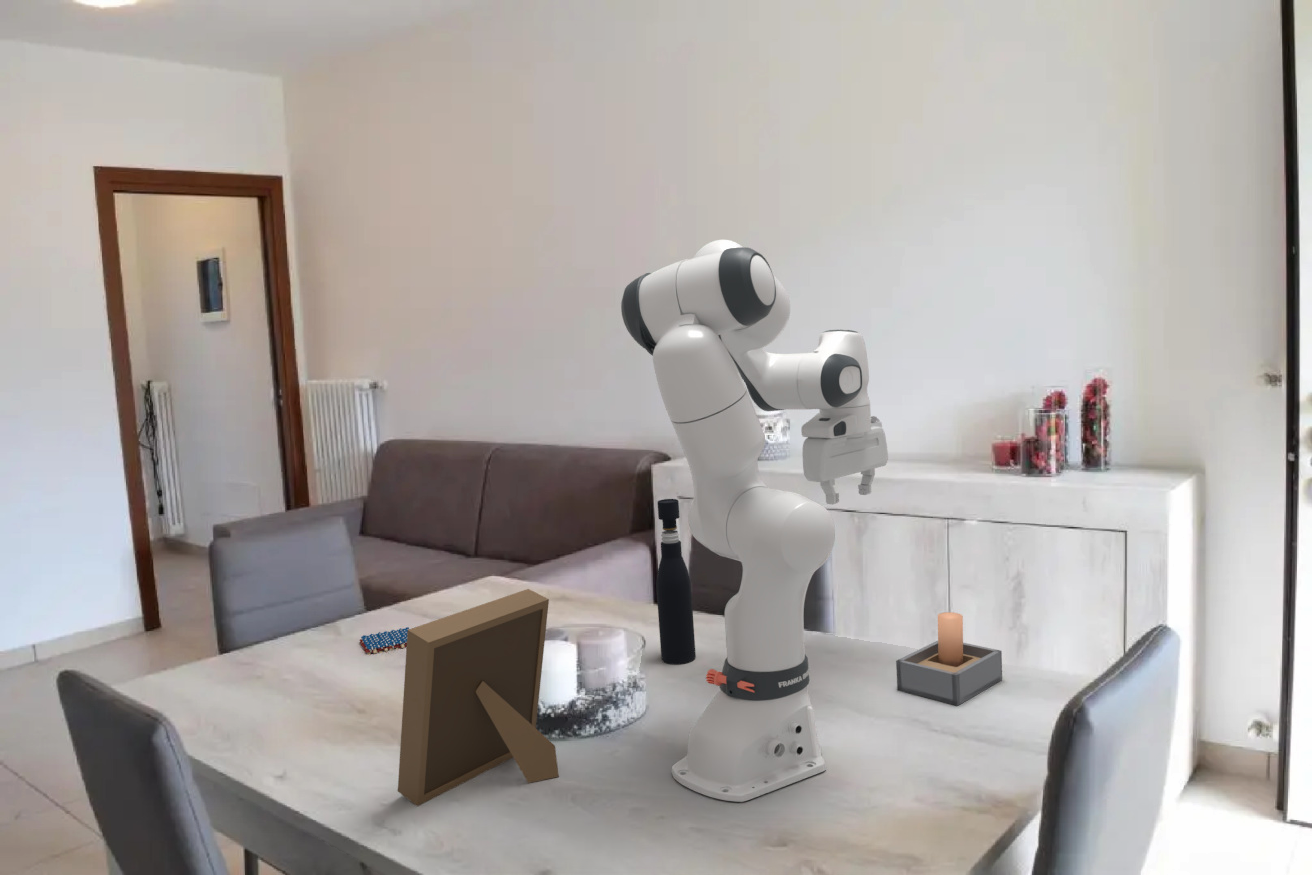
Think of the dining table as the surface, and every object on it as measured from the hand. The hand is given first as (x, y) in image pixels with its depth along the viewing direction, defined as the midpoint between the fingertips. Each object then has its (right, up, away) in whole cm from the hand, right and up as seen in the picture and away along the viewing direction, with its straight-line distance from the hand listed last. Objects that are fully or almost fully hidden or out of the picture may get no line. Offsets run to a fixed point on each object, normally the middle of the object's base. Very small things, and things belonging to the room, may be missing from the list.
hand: (849, 498), depth 178 cm
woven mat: (-90, -33, +30) cm, 100 cm away
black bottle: (-30, -31, +9) cm, 44 cm away
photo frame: (-57, -38, -36) cm, 78 cm away
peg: (+15, -29, -10) cm, 34 cm away
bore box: (+14, -30, -13) cm, 36 cm away
